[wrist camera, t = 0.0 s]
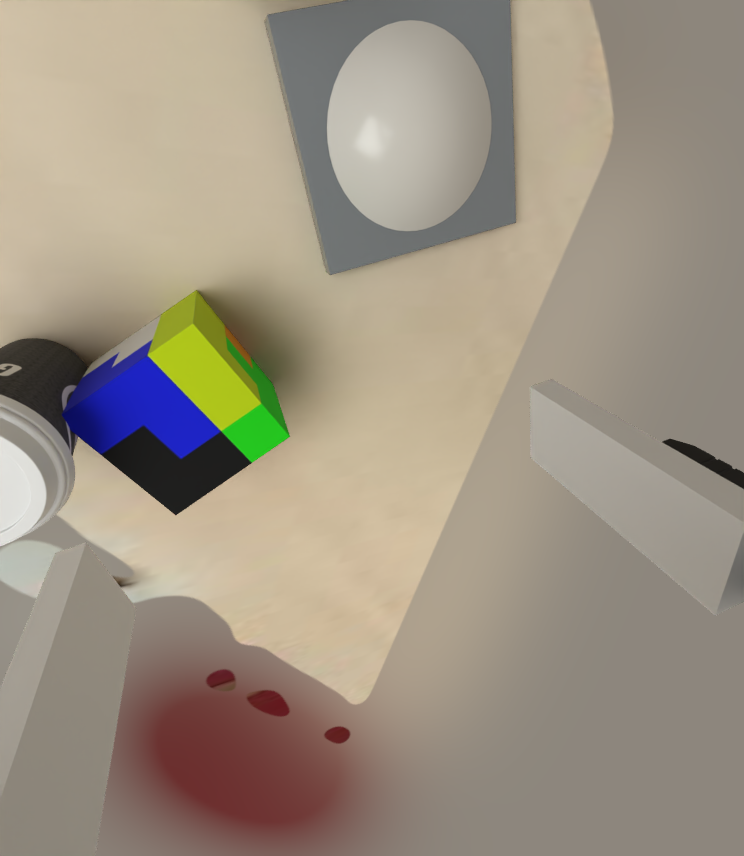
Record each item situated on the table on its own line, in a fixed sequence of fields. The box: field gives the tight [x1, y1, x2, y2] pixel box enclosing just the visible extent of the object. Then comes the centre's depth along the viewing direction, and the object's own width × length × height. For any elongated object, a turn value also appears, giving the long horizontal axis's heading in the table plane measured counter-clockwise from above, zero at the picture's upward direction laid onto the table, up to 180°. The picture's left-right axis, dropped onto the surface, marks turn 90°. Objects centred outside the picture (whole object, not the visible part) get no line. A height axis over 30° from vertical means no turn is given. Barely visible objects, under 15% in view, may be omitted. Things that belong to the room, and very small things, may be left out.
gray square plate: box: [265, 0, 516, 275], centre depth 34 cm, size 16×17×2 cm
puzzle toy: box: [62, 290, 290, 515], centre depth 34 cm, size 10×10×10 cm
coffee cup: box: [0, 339, 88, 546], centre depth 28 cm, size 10×10×15 cm
